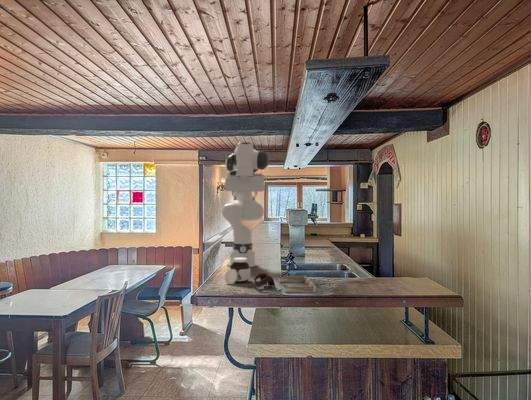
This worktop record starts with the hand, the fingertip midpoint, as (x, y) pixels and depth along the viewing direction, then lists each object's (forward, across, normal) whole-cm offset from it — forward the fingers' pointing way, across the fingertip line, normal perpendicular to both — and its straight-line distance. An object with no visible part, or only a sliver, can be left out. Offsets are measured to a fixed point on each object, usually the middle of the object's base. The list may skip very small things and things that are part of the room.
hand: (244, 200), depth 178 cm
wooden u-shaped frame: (+41, -24, +13) cm, 49 cm away
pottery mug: (+42, -9, +14) cm, 45 cm away
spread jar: (+41, +3, +3) cm, 41 cm away
